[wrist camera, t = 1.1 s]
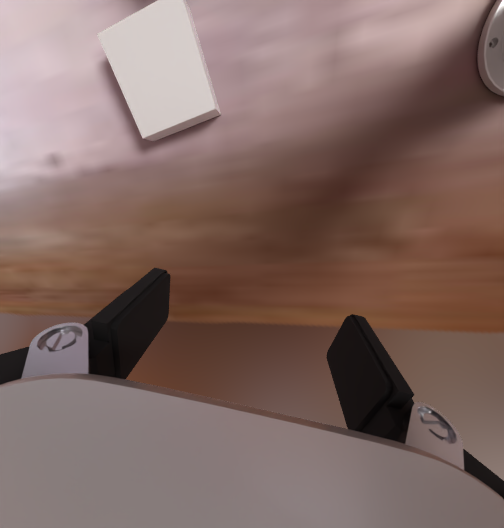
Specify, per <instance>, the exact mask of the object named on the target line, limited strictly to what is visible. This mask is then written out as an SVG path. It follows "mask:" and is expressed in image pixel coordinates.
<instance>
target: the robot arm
mask: <svg viewBox="0 0 504 528" xmlns="http://www.w3.org/2000/svg"><path fill="white" fill-rule="evenodd" d="M478 68H479V72H480V76H481V78H482V80H483V82H484V84H485V85H486V86H487V87H488V88H489V89H490V90H491V91H492V92H494V93H496V94H498V95H501V96H504V0H497V1H496V3H495V4H494V6H493V8H492V9H491V11H490V13H489V16H488V18H487V20H486V22H485V24H484V27H483V31H482V34H481V37H480V41H479V47H478ZM169 293H170V274H167V271H166V270H162V269H158V268H154V269H152V270H151V271H150V272H149V273H148V274H146V275H145V276H144V277H143V278H141V279H140V280H139V281H138V282H137V283H135V284H134V285H133V286H132V287H131V288H129V289H128V290H126V291H125V292H124V293H122V294H121V295H120V296H119V297H117V298H116V299H115V300H114V301H113V302H111V303H110V304H109V305H108V306H106V307H105V308H104V309H103V310H101V311H100V312H99V313H98V314H97V315H95V316H94V317H93V318H92V319H90V320H89V321H88V322H87V323H86V324H84V325H82V324H79V323H64V324H60V325H56V326H53V327H51V328H48V329H46V330H45V331H43V332H41V333H40V334H38V335H37V336H36V337H35V338H34V339H33V340H32V342H31V344H30V347H26V348H23V349H19V350H15V351H11V352H8V353H4V354H1V355H0V528H504V481H503V480H502V479H500V478H499V477H498V476H497V475H495V474H494V473H493V472H492V471H490V470H489V469H488V468H487V467H486V466H484V465H483V464H482V463H481V462H479V461H478V460H477V459H476V458H474V457H473V456H472V455H471V454H469V453H468V452H467V451H466V450H464V449H463V443H462V439H461V436H460V434H459V432H458V431H457V429H456V428H455V427H454V425H453V424H452V423H451V422H450V421H449V420H448V419H447V418H446V417H445V416H444V415H443V414H442V413H440V412H439V411H438V410H437V409H435V408H433V407H432V406H430V405H428V404H426V403H422V402H417V403H414V402H413V400H412V397H413V396H414V394H413V392H412V390H411V389H410V387H409V386H408V384H407V382H406V381H405V380H404V378H403V376H402V375H401V373H400V372H399V370H398V369H397V367H396V365H395V364H394V362H393V361H392V359H391V358H390V356H389V355H388V353H387V351H386V350H385V348H384V347H383V345H382V344H381V342H380V341H379V339H378V337H377V336H376V334H375V333H374V331H373V330H372V328H371V327H370V325H369V323H368V322H367V320H366V319H365V318H364V317H362V316H358V315H353V314H352V315H350V316H347V317H346V318H345V320H344V322H343V324H342V326H341V328H340V330H339V331H338V333H337V335H336V337H335V339H334V341H333V343H332V345H331V346H330V348H329V350H328V352H327V361H328V364H329V368H330V370H331V374H332V378H333V381H334V384H335V388H336V391H337V394H338V397H339V401H340V404H341V407H342V411H343V414H344V417H345V421H346V424H347V427H348V429H345V428H340V427H336V426H332V425H328V424H323V423H319V422H315V421H310V420H306V419H302V418H297V417H293V416H289V415H284V414H280V413H275V412H271V411H267V410H262V409H258V408H254V407H249V406H245V405H240V404H236V403H232V402H227V401H223V400H218V399H214V398H209V397H205V396H200V395H196V394H191V393H187V392H182V391H177V390H173V389H169V388H164V387H160V386H155V385H150V384H145V383H140V382H134V381H130V380H125V379H126V378H127V377H128V375H129V374H130V372H131V371H132V369H133V368H134V367H135V365H136V364H137V362H138V361H139V359H140V358H141V357H142V355H143V354H144V352H145V351H146V349H147V348H148V346H149V345H150V344H151V342H152V341H153V339H154V338H155V337H156V335H157V334H158V332H159V331H160V329H161V328H162V327H163V325H164V324H165V322H166V321H167V318H168V313H169Z"/></svg>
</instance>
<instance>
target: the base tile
mask: <svg viewBox="0 0 504 528" xmlns="http://www.w3.org/2000/svg"><path fill="white" fill-rule="evenodd" d="M97 35H98V38H99V40H100V42H101V44H102V47H103V49H104V51H105V54H106V56H107V58H108V60H109V63H110V65H111V67H112V70H113V72H114V74H115V76H116V79H117V81H118V83H119V86H120V88H121V90H122V92H123V95H124V97H125V99H126V102H127V104H128V106H129V108H130V111H131V113H132V115H133V118H134V120H135V122H136V124H137V127H138V129H139V131H140V133H141V136H142V138H143V139H147V140H151V141H156V140H159V139H161V138H164V137H166V136H169V135H171V134H174V133H176V132H179V131H181V130H184V129H186V128H189V127H191V126H194V125H196V124H199V123H201V122H204V121H206V120H209V119H211V118H214V117H216V116H219V115H221V113H220V110H219V106H218V103H217V100H216V96H215V93H214V89H213V86H212V83H211V79H210V76H209V72H208V69H207V66H206V62H205V59H204V55H203V52H202V49H201V45H200V42H199V39H198V35H197V32H196V28H195V25H194V22H193V18H192V15H191V11H190V8H189V6H188V4H187V2H186V0H158V1H156V2H154V3H152V4H150V5H149V6H147V7H145V8H143V9H141V10H140V11H138V12H136V13H134V14H132V15H130V16H129V17H127V18H125V19H123V20H121V21H120V22H118V23H116V24H114V25H112V26H111V27H109V28H107V29H105V30H103V31H102V32H100V33H98V34H97Z"/></svg>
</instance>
